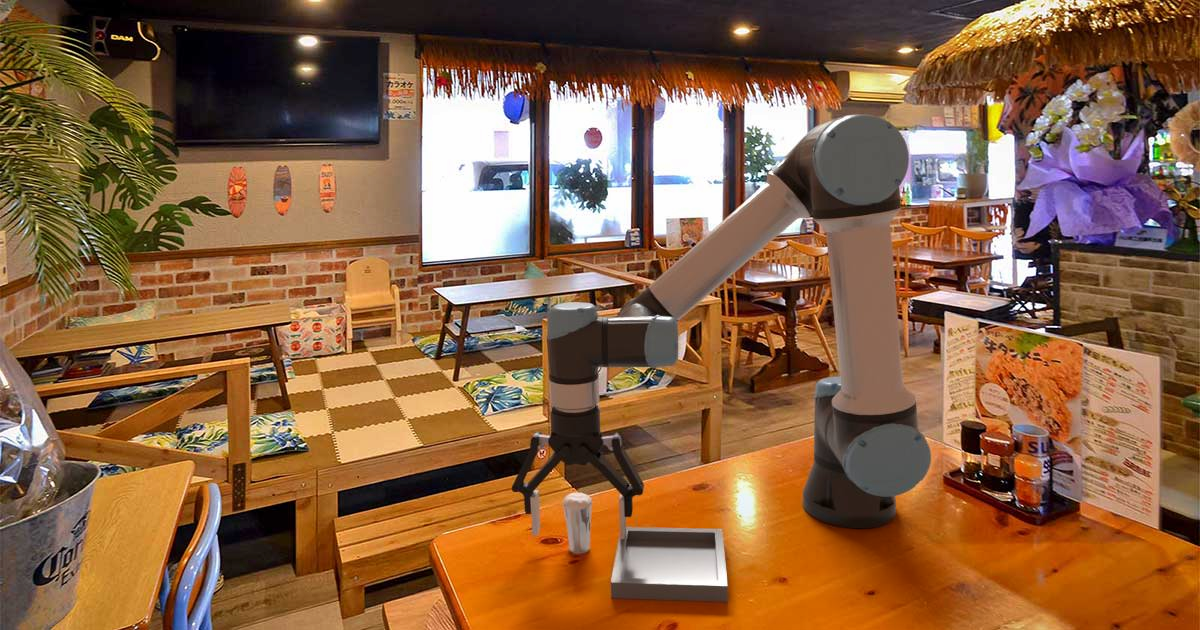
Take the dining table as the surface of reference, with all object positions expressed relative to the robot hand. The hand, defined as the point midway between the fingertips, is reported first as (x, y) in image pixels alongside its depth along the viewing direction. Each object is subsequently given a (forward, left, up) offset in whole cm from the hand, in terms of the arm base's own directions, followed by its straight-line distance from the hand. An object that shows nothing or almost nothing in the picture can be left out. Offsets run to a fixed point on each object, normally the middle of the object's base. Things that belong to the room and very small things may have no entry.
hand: (579, 534), depth 112 cm
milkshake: (0, 0, -3) cm, 3 cm away
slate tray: (-14, +5, -3) cm, 15 cm away
